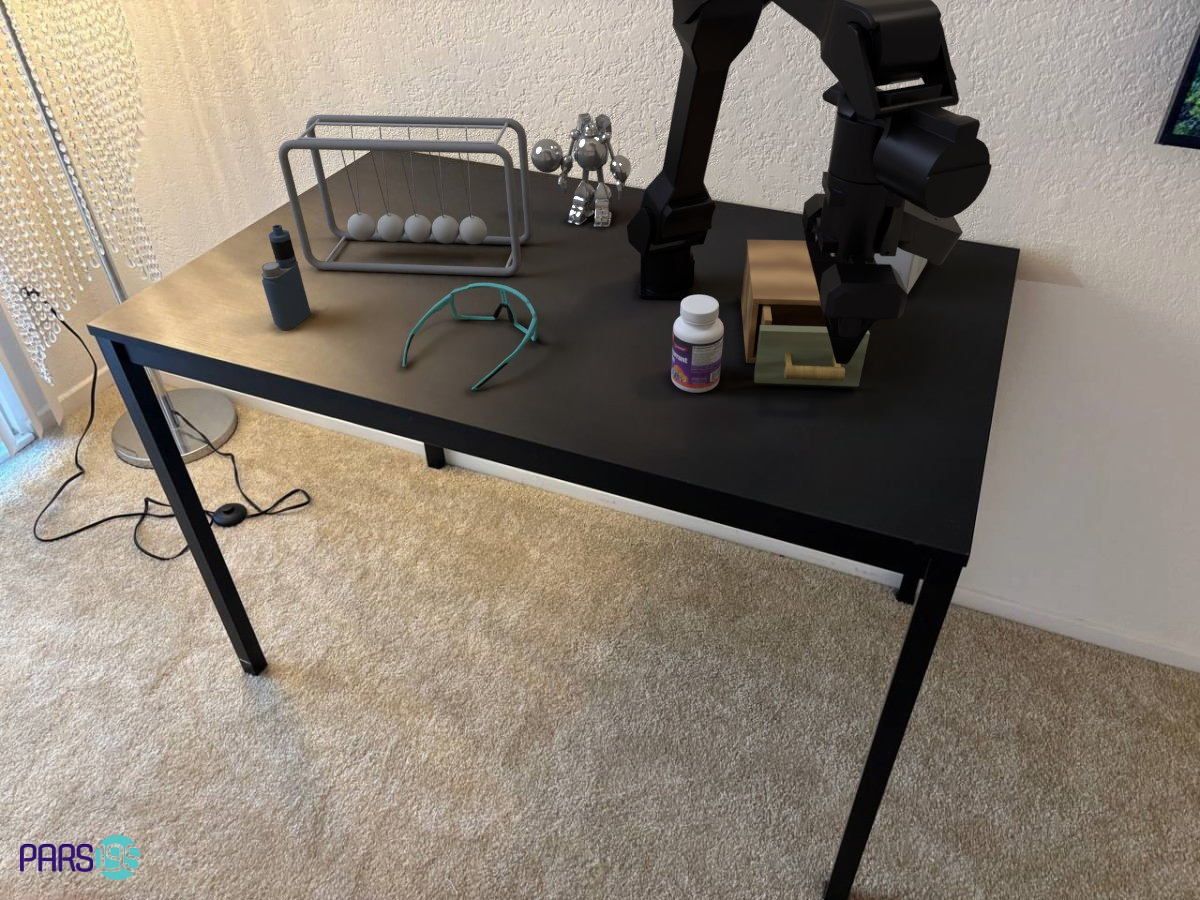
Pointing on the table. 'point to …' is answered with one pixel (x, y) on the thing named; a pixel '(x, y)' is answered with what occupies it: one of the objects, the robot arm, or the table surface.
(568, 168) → the robot toy
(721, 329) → the pill bottle
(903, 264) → the cosmetics box
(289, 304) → the vaping device
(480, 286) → the sunglasses
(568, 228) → the table surface
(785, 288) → the cabinet
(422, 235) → the newton's cradle
